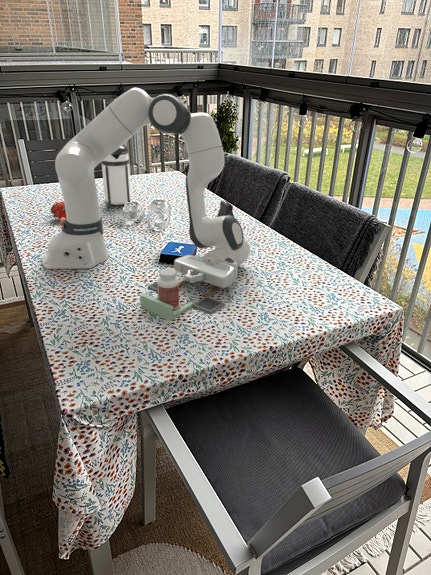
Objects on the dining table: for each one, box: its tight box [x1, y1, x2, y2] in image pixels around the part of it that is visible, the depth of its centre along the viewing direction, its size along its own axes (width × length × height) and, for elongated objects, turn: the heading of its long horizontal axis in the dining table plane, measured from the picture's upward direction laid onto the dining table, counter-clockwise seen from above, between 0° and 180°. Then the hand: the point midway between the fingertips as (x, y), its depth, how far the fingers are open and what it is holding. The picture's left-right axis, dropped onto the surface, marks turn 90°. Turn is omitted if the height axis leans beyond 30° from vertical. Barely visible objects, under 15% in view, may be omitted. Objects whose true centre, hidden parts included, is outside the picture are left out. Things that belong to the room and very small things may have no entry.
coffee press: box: [100, 143, 132, 209], centre depth 204 cm, size 17×16×30 cm
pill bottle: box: [157, 267, 180, 311], centre depth 127 cm, size 6×6×11 cm
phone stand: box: [216, 200, 235, 217], centre depth 181 cm, size 9×6×12 cm, turn 112°
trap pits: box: [147, 281, 225, 315], centre depth 135 cm, size 7×25×1 cm, turn 54°
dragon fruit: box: [49, 200, 67, 221], centre depth 189 cm, size 8×8×12 cm
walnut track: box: [179, 279, 222, 298], centre depth 141 cm, size 12×11×1 cm
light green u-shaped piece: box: [139, 293, 194, 321], centre depth 128 cm, size 10×11×4 cm
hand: (187, 279), depth 133 cm, fingers closed
